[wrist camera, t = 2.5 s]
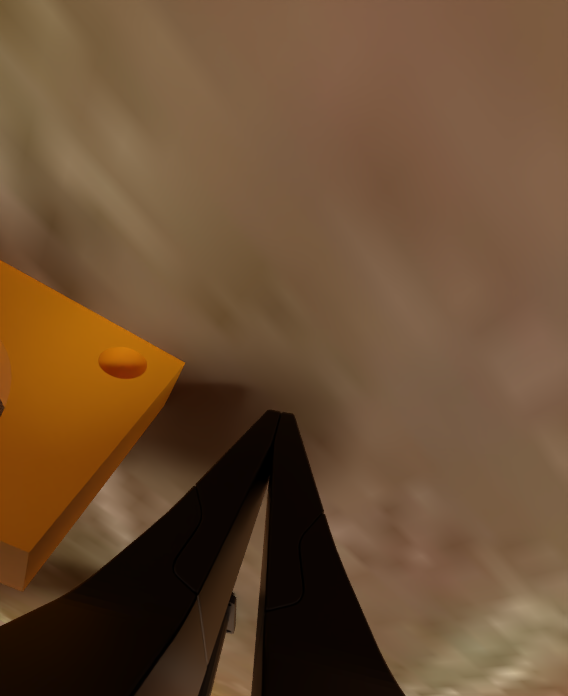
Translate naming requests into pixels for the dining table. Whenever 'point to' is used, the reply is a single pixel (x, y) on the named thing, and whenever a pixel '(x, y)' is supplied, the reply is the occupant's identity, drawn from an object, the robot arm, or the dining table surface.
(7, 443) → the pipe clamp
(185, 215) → the dining table surface
